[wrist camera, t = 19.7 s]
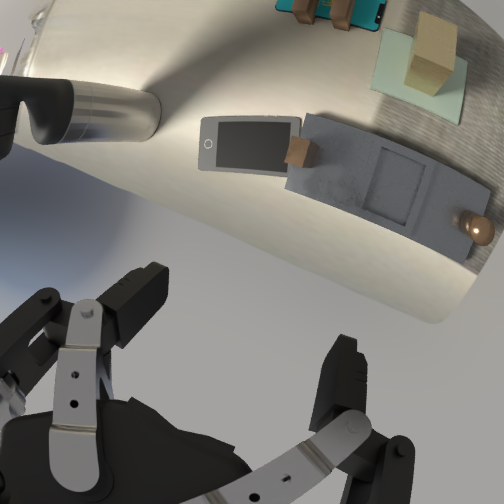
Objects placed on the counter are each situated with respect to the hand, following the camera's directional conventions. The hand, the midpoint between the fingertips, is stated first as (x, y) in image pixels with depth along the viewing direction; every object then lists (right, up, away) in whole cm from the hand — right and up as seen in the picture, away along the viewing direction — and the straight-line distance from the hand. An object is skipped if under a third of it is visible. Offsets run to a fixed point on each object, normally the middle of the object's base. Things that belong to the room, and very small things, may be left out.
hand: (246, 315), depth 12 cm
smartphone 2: (+11, +37, +14) cm, 41 cm away
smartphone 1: (0, +18, +25) cm, 31 cm away
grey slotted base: (+17, +11, +18) cm, 28 cm away
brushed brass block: (+21, +25, +12) cm, 35 cm away
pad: (+21, +25, +12) cm, 35 cm away
